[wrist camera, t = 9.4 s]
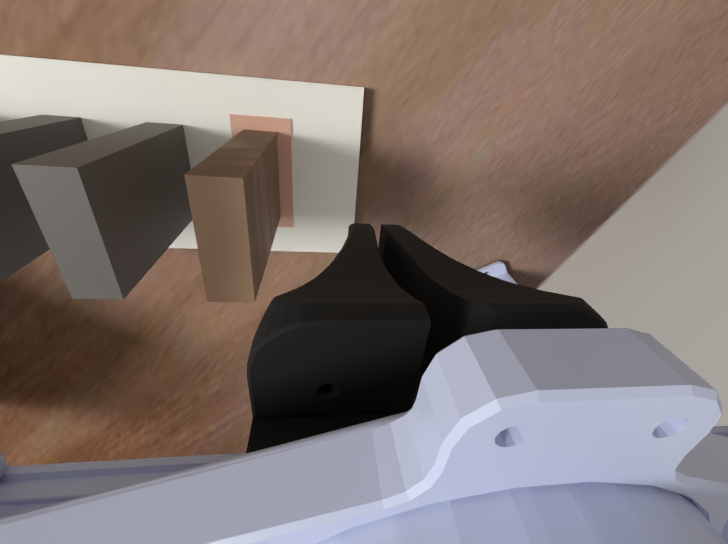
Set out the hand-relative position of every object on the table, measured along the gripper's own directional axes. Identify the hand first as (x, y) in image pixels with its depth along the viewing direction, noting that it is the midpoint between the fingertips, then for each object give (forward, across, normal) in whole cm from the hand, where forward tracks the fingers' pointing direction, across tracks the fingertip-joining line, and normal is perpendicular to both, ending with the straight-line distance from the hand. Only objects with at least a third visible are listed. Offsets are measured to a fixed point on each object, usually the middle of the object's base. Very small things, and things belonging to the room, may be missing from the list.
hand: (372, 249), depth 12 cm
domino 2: (+10, +10, 0) cm, 14 cm away
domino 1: (+10, +5, 0) cm, 11 cm away
